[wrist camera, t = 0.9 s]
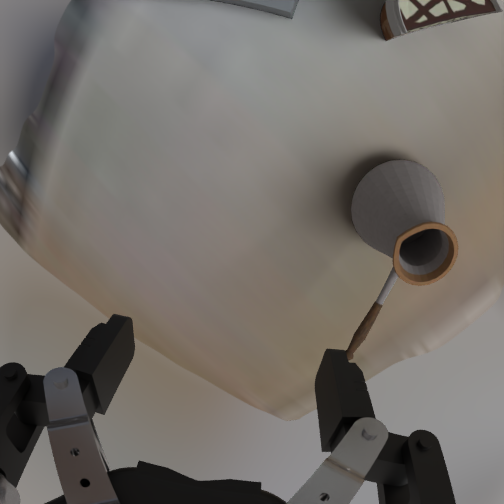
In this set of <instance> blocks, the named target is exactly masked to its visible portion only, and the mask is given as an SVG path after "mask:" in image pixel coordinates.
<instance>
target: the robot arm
mask: <svg viewBox="0 0 504 504" xmlns="http://www.w3.org/2000/svg"><path fill="white" fill-rule="evenodd" d="M134 350H135V343H134V333H133V323H132V319H131V318H130V317H126V316H122V315H117V314H113V315H112V316H111V318H110V319H109V321H108V322H107V323H106V324H104V323H100V324H98V325H97V326H95V327H94V328H92V329H91V330H90V332H89V333H88V335H87V336H86V338H84V340H83V341H82V343H81V345H79V347H78V348H77V349H76V351H75V352H74V353H73V355H72V356H71V358H70V359H69V360H68V362H67V363H66V365H65V366H64V367H59V368H55V369H52V370H50V371H49V372H48V373H47V374H46V375H45V376H42V375H31V374H27V372H26V370H25V368H24V367H23V366H22V365H21V364H19V363H7V364H5V365H3V366H2V367H0V504H20V495H19V493H18V491H17V489H16V487H17V485H18V482H19V480H20V478H21V475H22V473H23V471H24V468H25V466H26V464H27V462H28V460H29V457H30V455H31V453H32V451H33V449H34V446H35V444H36V443H37V440H38V438H39V436H40V434H41V432H42V430H43V428H44V426H47V430H48V435H49V439H50V444H51V448H52V453H53V457H54V461H55V464H56V468H57V472H58V476H59V479H60V483H61V486H62V489H63V492H64V495H62V496H60V497H58V498H56V499H54V500H51V501H49V502H47V503H45V504H349V503H350V502H351V500H352V499H353V497H354V496H355V495H356V493H357V492H358V490H359V489H360V487H361V486H362V484H363V482H364V480H367V481H371V482H376V483H377V488H378V497H379V504H456V503H455V498H454V494H453V491H452V486H451V482H450V479H449V475H448V471H447V467H446V464H445V460H444V457H443V453H442V450H441V447H440V444H439V441H438V439H437V437H435V435H434V434H432V433H431V432H429V431H426V430H417V431H414V432H413V433H412V434H411V435H410V436H409V437H406V436H401V435H397V434H393V433H390V432H388V430H387V428H386V427H385V425H384V424H383V423H382V422H380V421H379V420H377V419H376V418H375V414H374V411H373V407H372V403H371V400H370V397H369V393H368V391H367V386H366V383H365V379H364V376H363V372H362V371H361V369H360V368H359V367H358V366H357V365H356V363H349V362H348V358H347V354H346V351H345V350H337V349H326V351H325V353H324V356H323V359H322V361H321V364H320V367H319V370H318V372H317V375H316V379H315V394H316V402H317V410H318V419H319V428H320V438H321V447H322V452H331V455H330V456H329V457H328V458H327V459H326V460H325V461H324V462H323V463H322V464H321V465H320V467H319V468H318V469H317V470H316V471H315V472H314V474H313V475H312V476H311V477H310V478H309V479H308V480H307V482H306V483H305V484H304V485H303V486H302V487H301V488H300V489H299V491H298V492H297V493H296V494H295V495H294V496H293V497H292V498H291V499H290V500H289V501H288V502H287V503H286V502H285V501H284V500H282V499H281V498H279V497H278V496H275V495H274V494H271V493H269V492H267V491H264V490H261V482H251V481H242V480H233V479H226V480H211V481H197V480H194V479H192V478H189V477H187V476H184V475H182V474H180V473H178V472H176V471H173V470H171V469H169V468H166V467H162V466H157V465H154V464H150V463H146V462H143V461H139V462H138V465H137V467H127V468H119V469H116V470H112V471H111V468H110V466H109V464H108V462H107V459H106V457H105V454H104V451H103V449H102V446H101V444H100V441H99V438H98V435H97V432H96V429H95V426H94V423H93V420H92V418H93V416H94V414H95V412H97V413H100V414H103V415H105V412H106V410H107V408H108V406H109V404H110V402H111V400H112V398H113V396H114V394H115V392H116V390H117V388H118V386H119V384H120V382H121V380H122V378H123V376H124V374H125V372H126V371H127V369H128V367H129V365H130V363H131V361H132V359H133V356H134Z"/></svg>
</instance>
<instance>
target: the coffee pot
mask: <svg viewBox="0 0 504 504" xmlns="http://www.w3.org/2000/svg"><path fill="white" fill-rule="evenodd" d="M351 213H352V221H353V224H354V226H355V229H356V231H357V233H358V234H359V235H360V237H361V238H362V239H363V240H364V242H366V243H367V244H368V245H370V246H371V247H373V248H374V249H376V250H378V251H380V252H382V253H384V254H386V255H388V256H389V257H391V258H393V268H392V270H391V272H390V275H389V277H388V279H387V281H386V283H385V285H384V287H383V289H382V291H381V293H380V295H379V296H378V298H377V300H376V301H375V302H374V304H373V306H372V307H371V309H370V310H369V312H368V314H367V315H366V317H365V318H364V320H363V321H362V323H361V324H360V326H359V327H358V329H357V330H356V332H355V333H354V336H353V338H352V340H351V343H350V345H349V347H348V349H347V350H346V354H347V358H348V360H351V359H353V353H354V352H355V351H356V349H357V348H358V347H359V346H360V344H361V343H362V342H363V341H364V340H365V338H366V336H367V334H368V333H369V331H370V329H371V327H372V325H373V323H374V321H375V319H376V317H377V315H378V313H379V311H380V310H381V308H382V306H383V305H382V304H383V302H384V301H385V299H386V297H387V296H388V294H389V292H390V290H391V289H392V287H393V285H394V283H395V281H396V280H397V278H398V276H399V278H401V279H402V280H403V281H405V282H406V283H409V284H411V285H418V286H422V285H429V284H431V283H434V282H436V281H438V280H439V279H441V278H443V277H444V276H445V275H446V274H447V273H448V272H449V271H450V270H451V268H452V267H453V265H454V263H455V261H456V258H457V255H458V243H457V238H456V236H455V234H454V232H453V231H452V230H451V229H450V228H449V227H448V226H446V225H445V205H444V195H443V191H442V187H441V185H440V184H439V182H438V180H437V178H436V177H435V175H434V174H433V173H432V172H431V171H430V170H428V169H427V168H426V167H424V166H422V165H421V164H419V163H417V162H413V161H408V160H392V161H388V162H385V163H383V164H380V165H378V166H376V167H375V168H373V169H372V170H371V171H369V172H368V173H367V174H366V175H365V176H364V177H363V179H362V180H361V181H360V182H359V184H358V186H357V188H356V190H355V192H354V195H353V199H352V206H351Z"/></svg>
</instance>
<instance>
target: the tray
mask: <svg viewBox="0 0 504 504" xmlns="http://www.w3.org/2000/svg"><path fill="white" fill-rule="evenodd" d="M211 1H217V2H223V3H229V4H234V5H239V6H244V7H248V8H253V9H257V10H261V11H265V12H269V13H273V14H277V15H280V16H284V17H287V18H291V19H292V17H293V14H294V12H295V9H296V6H297V4H298V1H299V0H211Z"/></svg>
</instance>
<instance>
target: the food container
mask: <svg viewBox="0 0 504 504" xmlns="http://www.w3.org/2000/svg"><path fill="white" fill-rule="evenodd" d="M502 11H503V10H502V8H501V6H500V5H499V3H498V1H497V0H386V2H385V4H384V5H383V8H382V10H381V15H380V23H381V29H382V32H383V35H384V37H385V40H386V41H388V40H391V39H394V38H397V37H400V36H403V35H407V34H410V33H413V32H417V31H420V30H424V29H428V28H431V27H435V26H439V25H443V24H448V23H452V22H456V21H460V20H464V19H468V18H472V17H477V16H481V15H486V14H491V13H497V12H502Z"/></svg>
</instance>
